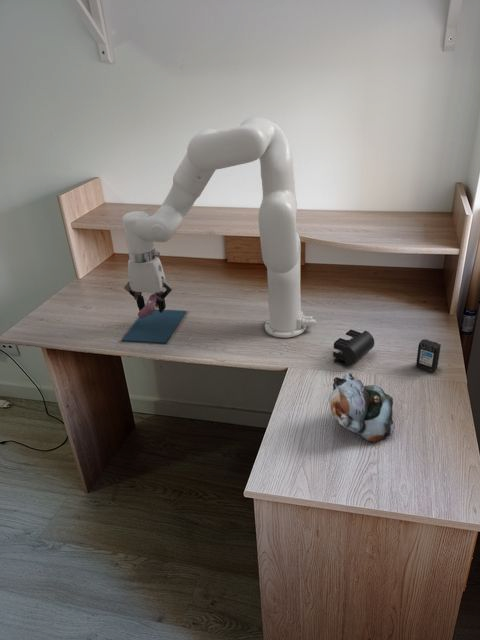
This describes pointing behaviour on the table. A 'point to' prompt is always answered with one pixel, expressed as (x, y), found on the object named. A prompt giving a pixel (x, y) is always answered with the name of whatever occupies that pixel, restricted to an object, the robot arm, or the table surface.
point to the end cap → (352, 347)
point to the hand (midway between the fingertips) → (152, 309)
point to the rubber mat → (155, 327)
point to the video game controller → (149, 306)
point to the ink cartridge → (428, 355)
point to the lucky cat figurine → (362, 408)
